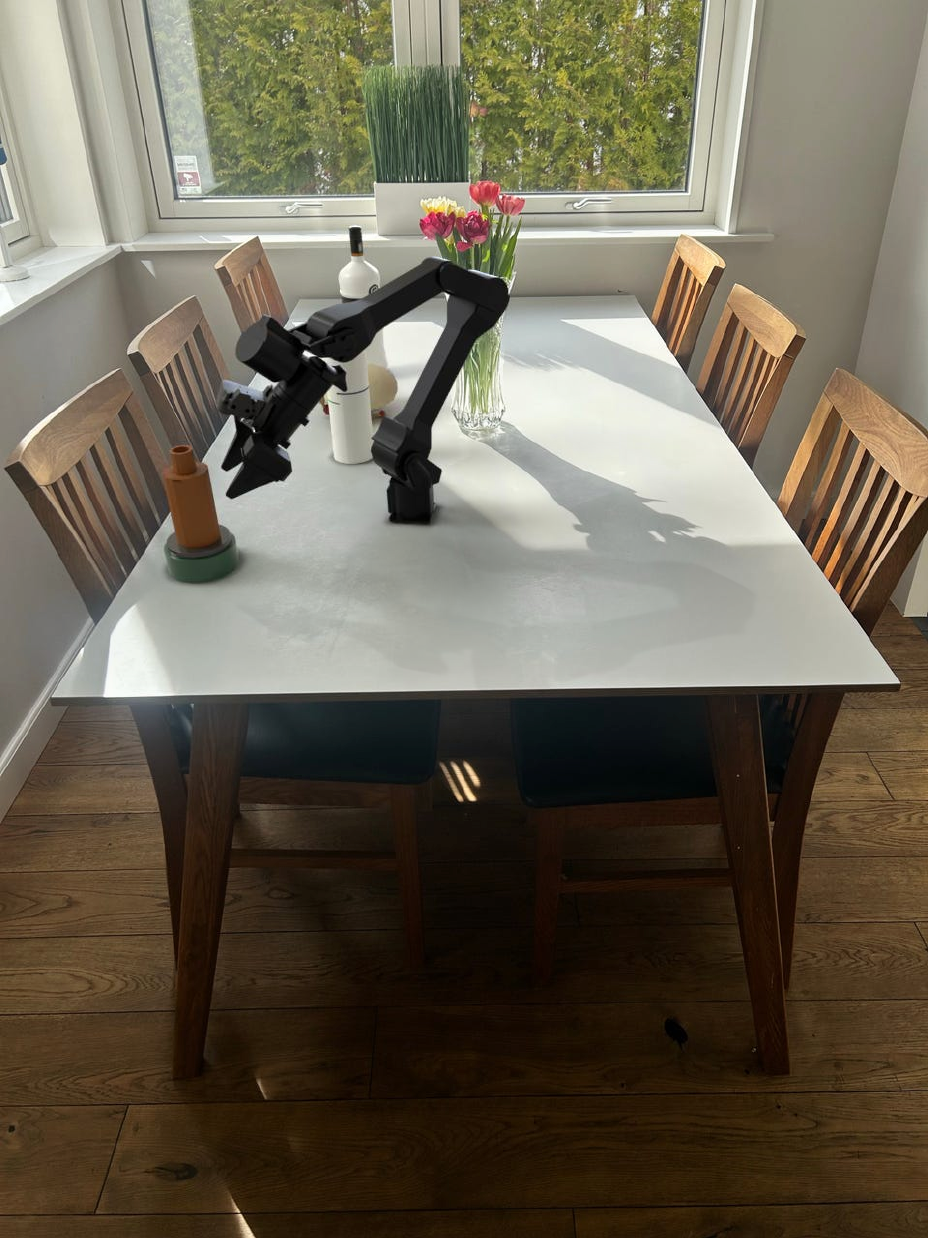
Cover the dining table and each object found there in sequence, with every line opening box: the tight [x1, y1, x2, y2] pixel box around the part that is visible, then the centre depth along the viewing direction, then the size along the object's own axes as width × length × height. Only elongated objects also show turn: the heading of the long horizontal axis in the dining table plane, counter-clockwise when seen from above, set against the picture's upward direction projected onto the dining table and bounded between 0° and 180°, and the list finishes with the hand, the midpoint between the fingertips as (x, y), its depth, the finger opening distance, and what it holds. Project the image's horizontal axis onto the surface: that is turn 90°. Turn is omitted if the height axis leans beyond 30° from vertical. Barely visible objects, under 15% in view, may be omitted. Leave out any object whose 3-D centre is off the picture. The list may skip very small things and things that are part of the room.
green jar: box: [163, 524, 240, 584], centre depth 136 cm, size 10×10×4 cm
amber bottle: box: [161, 444, 220, 548], centre depth 131 cm, size 6×6×14 cm
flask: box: [318, 364, 399, 419], centre depth 182 cm, size 9×16×18 cm
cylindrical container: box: [323, 349, 374, 465], centre depth 161 cm, size 7×7×25 cm
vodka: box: [338, 225, 389, 370], centre depth 195 cm, size 9×9×30 cm
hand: (225, 483), depth 131 cm, fingers open, 9 cm apart
